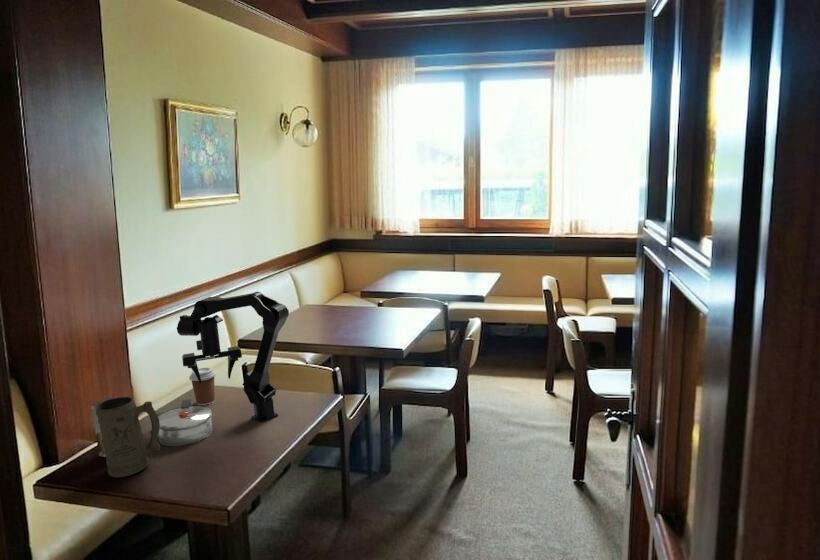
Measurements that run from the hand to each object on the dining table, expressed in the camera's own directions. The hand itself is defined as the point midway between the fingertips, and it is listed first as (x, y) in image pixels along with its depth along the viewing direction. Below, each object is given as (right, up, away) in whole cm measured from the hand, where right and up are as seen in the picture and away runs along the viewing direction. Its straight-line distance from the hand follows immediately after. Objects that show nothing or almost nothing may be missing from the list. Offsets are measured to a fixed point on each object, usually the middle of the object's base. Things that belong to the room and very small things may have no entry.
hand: (215, 380), depth 215 cm
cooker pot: (-7, -15, -12) cm, 20 cm away
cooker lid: (-6, -9, -12) cm, 16 cm away
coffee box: (-21, -18, -24) cm, 37 cm away
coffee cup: (-8, -10, +15) cm, 20 cm away
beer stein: (-12, -19, -35) cm, 41 cm away
